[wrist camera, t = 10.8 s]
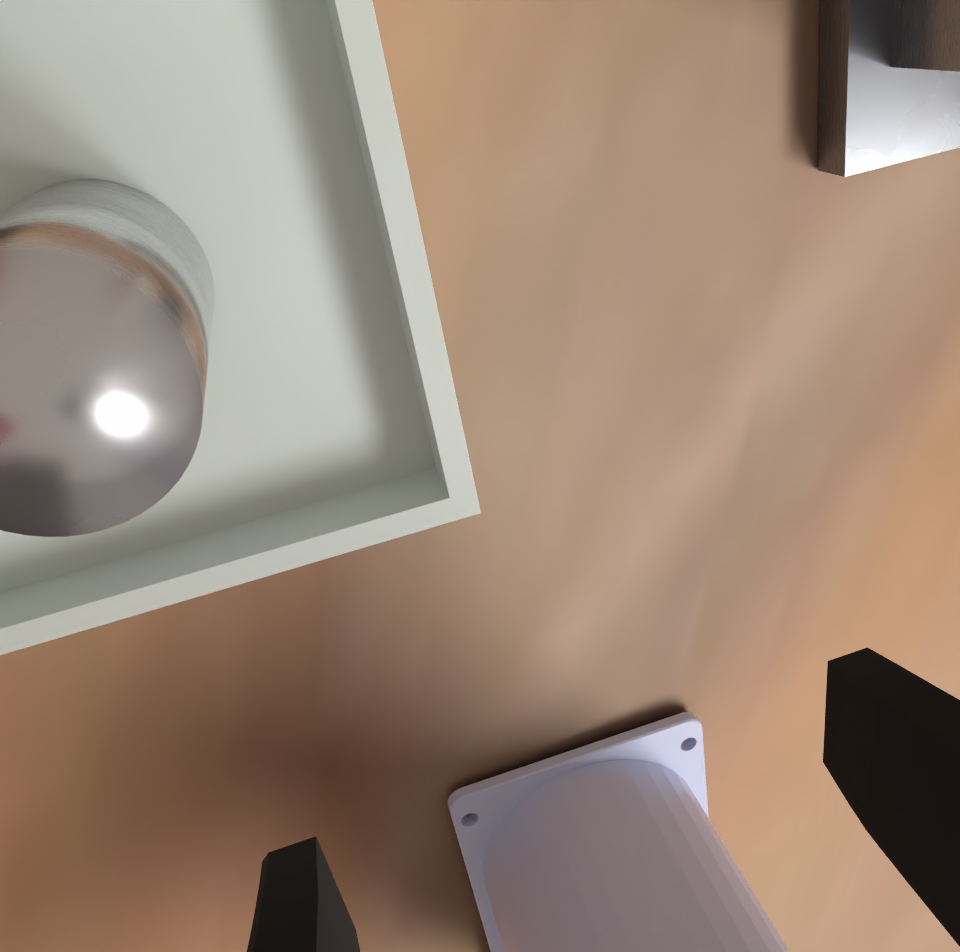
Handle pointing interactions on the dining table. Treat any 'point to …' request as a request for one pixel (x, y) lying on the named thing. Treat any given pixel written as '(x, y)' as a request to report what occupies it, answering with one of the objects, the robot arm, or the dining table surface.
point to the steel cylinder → (97, 356)
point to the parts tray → (245, 289)
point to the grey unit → (887, 82)
